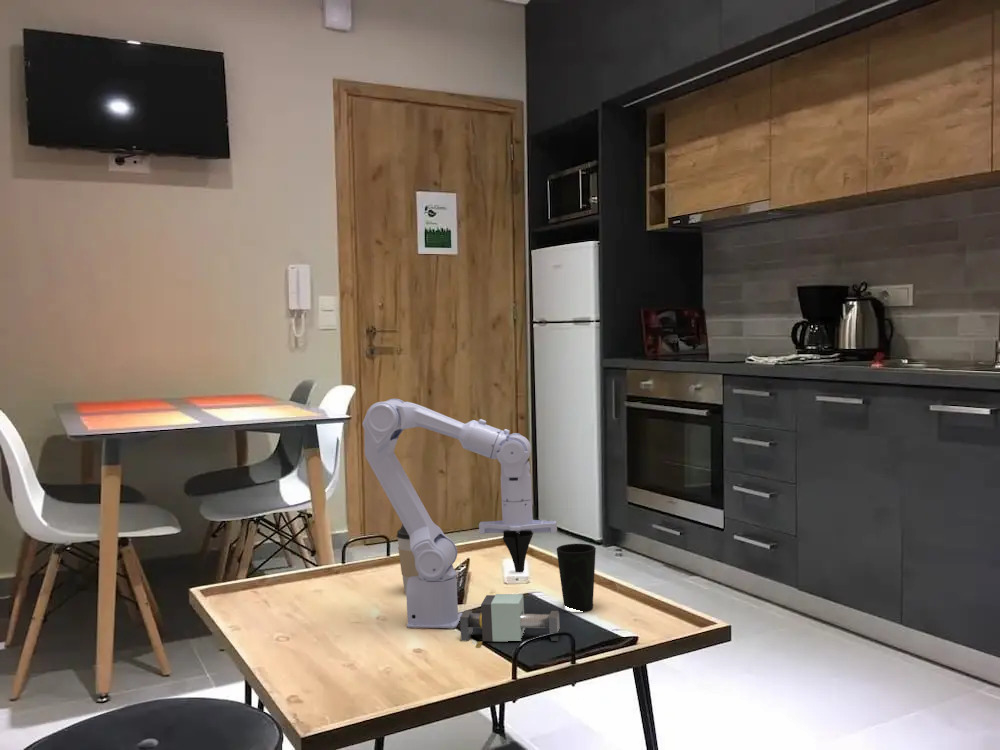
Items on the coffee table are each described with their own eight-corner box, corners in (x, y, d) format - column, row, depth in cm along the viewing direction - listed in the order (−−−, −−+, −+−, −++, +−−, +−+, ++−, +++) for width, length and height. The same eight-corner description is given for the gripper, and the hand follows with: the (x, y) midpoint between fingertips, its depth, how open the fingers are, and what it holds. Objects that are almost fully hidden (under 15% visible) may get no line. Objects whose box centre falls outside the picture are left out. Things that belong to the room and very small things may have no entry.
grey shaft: (457, 647, 152) (455, 622, 152) (465, 632, 159) (464, 609, 159) (555, 648, 149) (554, 623, 149) (559, 633, 156) (558, 610, 156)
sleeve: (492, 641, 153) (490, 603, 153) (497, 630, 159) (496, 594, 159) (520, 641, 152) (518, 603, 152) (524, 631, 158) (523, 594, 158)
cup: (596, 614, 166) (593, 553, 166) (556, 614, 168) (554, 552, 167) (599, 602, 174) (597, 543, 173) (561, 602, 175) (559, 543, 175)
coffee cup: (449, 588, 188) (446, 520, 188) (424, 600, 181) (420, 528, 180) (416, 584, 193) (413, 517, 193) (390, 594, 186) (387, 525, 185)
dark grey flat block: (482, 641, 154) (481, 604, 153) (488, 630, 159) (486, 595, 159) (492, 641, 153) (491, 604, 153) (497, 630, 159) (496, 595, 159)
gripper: (474, 503, 160) (478, 576, 160) (552, 502, 157) (556, 576, 158) (481, 496, 167) (484, 566, 167) (556, 495, 164) (559, 566, 165)
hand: (519, 570), depth 163 cm, fingers closed
